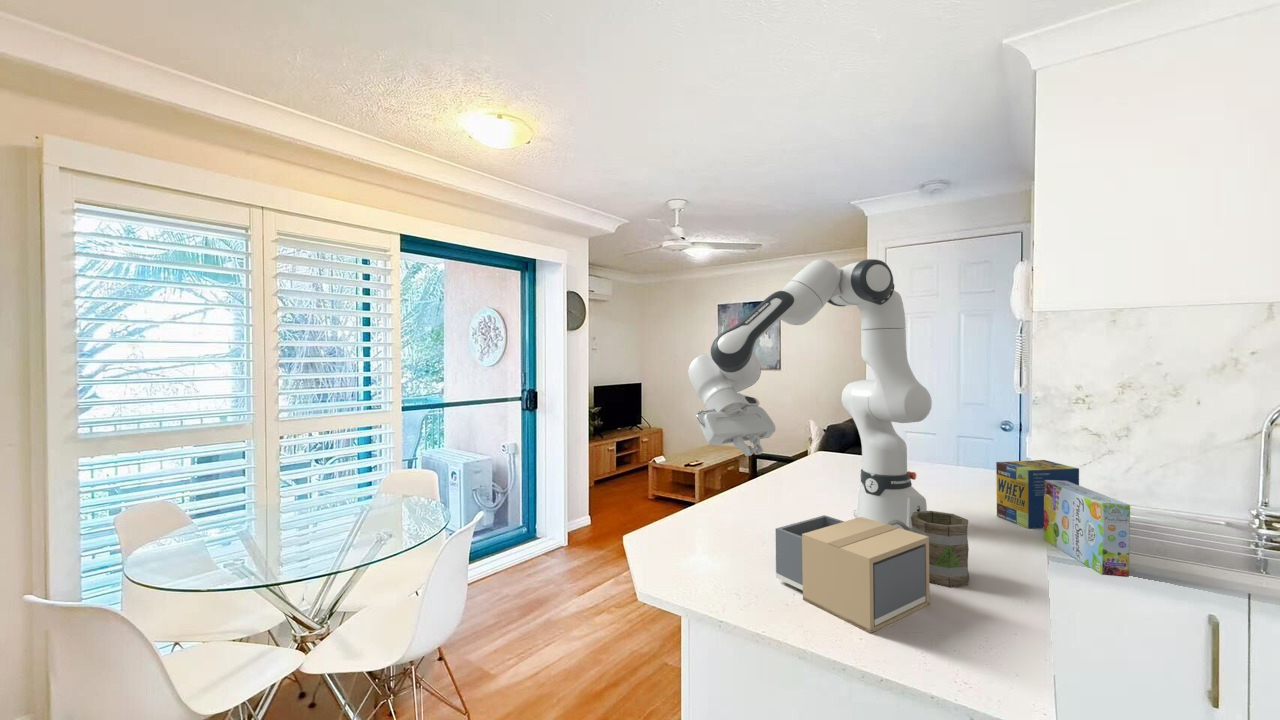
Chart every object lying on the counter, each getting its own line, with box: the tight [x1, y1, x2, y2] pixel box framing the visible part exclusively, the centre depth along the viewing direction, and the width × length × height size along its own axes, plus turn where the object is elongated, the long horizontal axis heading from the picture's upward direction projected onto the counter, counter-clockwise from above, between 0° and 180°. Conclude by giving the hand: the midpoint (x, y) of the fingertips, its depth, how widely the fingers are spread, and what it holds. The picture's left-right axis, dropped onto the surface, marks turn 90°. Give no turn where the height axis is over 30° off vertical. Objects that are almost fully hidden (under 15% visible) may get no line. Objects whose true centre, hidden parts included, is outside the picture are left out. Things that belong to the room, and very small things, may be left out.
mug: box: [888, 510, 970, 589], centre depth 106 cm, size 16×11×12 cm
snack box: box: [1043, 480, 1131, 578], centre depth 114 cm, size 21×6×15 cm, turn 168°
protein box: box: [995, 459, 1080, 529], centre depth 138 cm, size 10×15×16 cm
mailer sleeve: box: [802, 517, 931, 634], centre depth 95 cm, size 18×14×13 cm
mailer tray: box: [775, 514, 925, 625], centre depth 98 cm, size 15×22×10 cm
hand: (755, 453), depth 119 cm, fingers closed
